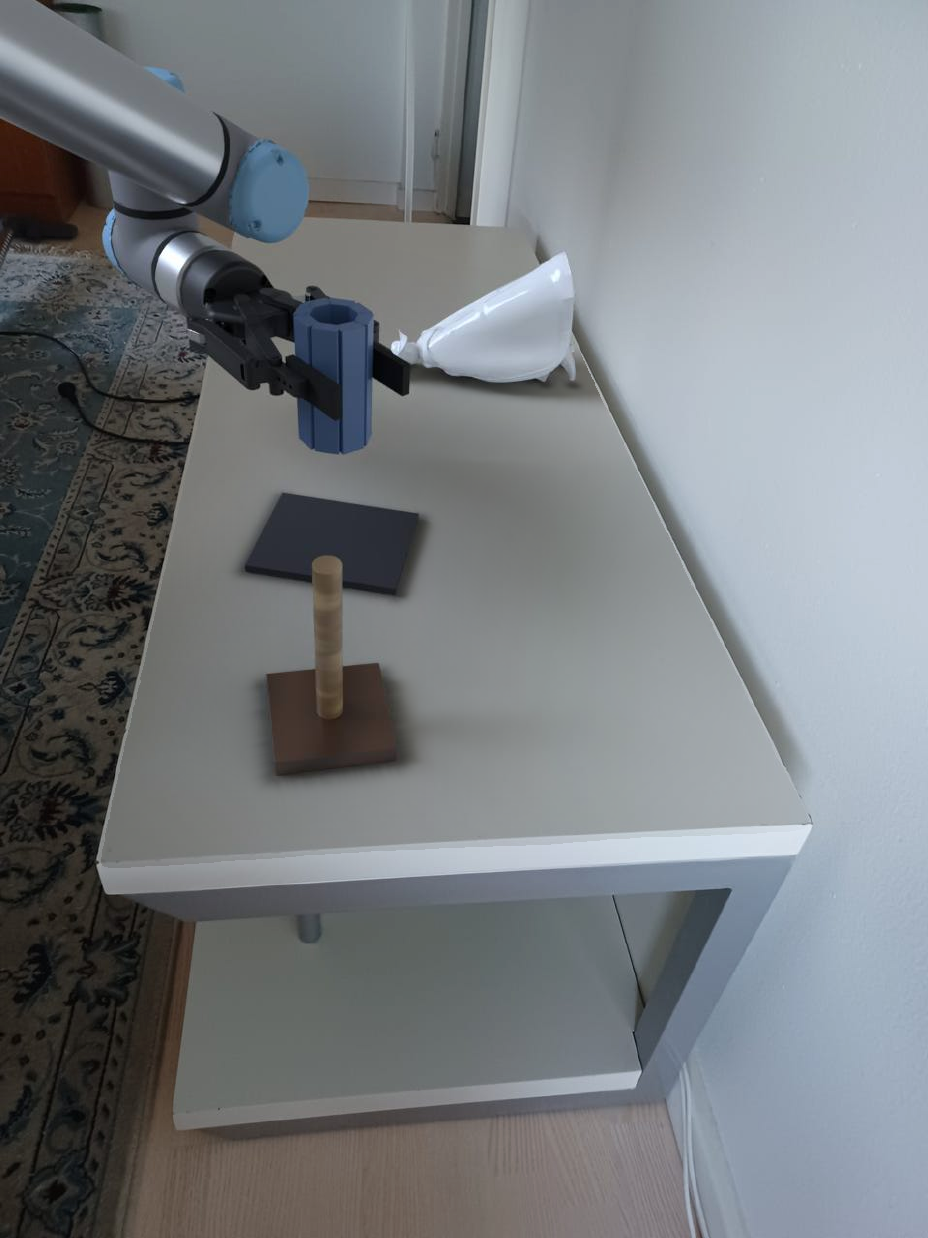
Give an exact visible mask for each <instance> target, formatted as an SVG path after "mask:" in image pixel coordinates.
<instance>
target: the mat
mask: <svg viewBox="0 0 928 1238" xmlns="http://www.w3.org/2000/svg"><path fill="white" fill-rule="evenodd" d="M419 517H420V513H419V512H411V511H405V510H398V509H392V508H386V507H379V506H372V505H366V504H360V503H354V502H347V501H340V500H334V499H327V498H320V497H314V496H308V495H302V494H294V493H288V492H281V494H280V496H279V498H278V500H277V502H276V504H275V506H274V508H273V510H272V512H271V513H270V515H269V517H268V519H267V521H266V523H265V524H264V527H263V529H262V531H261V532H260V535H259V536H258V538H257V541H256V542H255V544H254V546H253V548H252V550H251V552H250V554H249V556H248V558H247V560H246V561H245V563H244V571H245V572H248V573H254V574H259V575H266V576H272V577H279V578H285V579H292V580H298V581H303V582H311V583H312V563H313V561H314V560H315V559H316V558H318V557H320V556H325V555H329V556H334V557H337V558H338V559H339V560H340V561H341V562H342V584H343V588H348V589H355V590H361V591H366V592H372V593H380V594H386V595H393V596H396V595H397V591H398V588H399V584H400V581H401V578H402V574H403V572H404V568H405V565H406V562H407V558H408V555H409V552H410V548H411V547H412V546H411V545H412V543H413V538H414V535H415V532H416V529H417V526H418V522H419V519H420V518H419Z"/></svg>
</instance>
